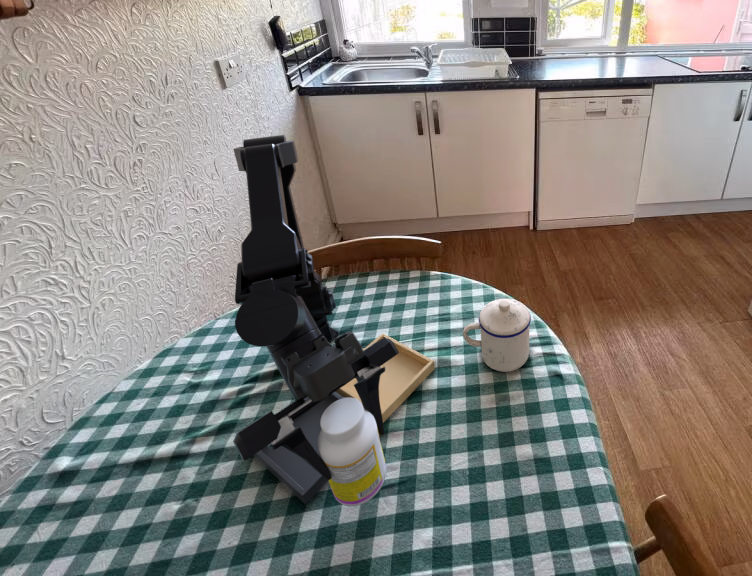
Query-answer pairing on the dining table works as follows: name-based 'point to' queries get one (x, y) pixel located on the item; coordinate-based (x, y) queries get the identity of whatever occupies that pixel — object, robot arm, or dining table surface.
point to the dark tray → (290, 465)
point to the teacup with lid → (502, 334)
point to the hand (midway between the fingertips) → (357, 456)
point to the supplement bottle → (351, 452)
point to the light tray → (395, 377)
